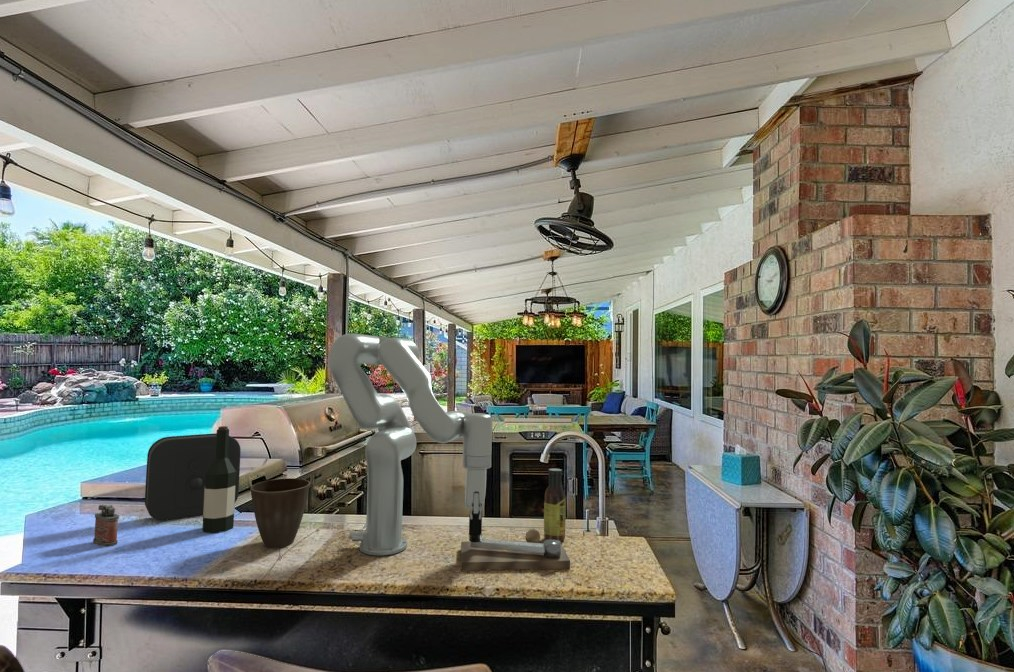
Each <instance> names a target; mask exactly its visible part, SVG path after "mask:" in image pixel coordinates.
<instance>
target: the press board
mask: <svg viewBox="0 0 1014 672" xmlns="http://www.w3.org/2000/svg"><path fill="white" fill-rule="evenodd" d="M514 541H515V542H528V543H541V544H544V541H545V540H541V534H540V532H539V531H538V530H537V529H535V528H531V529H528V530H527V532H526V533H525V540H514ZM460 542H461V543H460V571H461V572H463V571H466V572H467V571H470V570H474V571H488V570H487V569H532V570H571V559H570V558H569V556H568V554H567V552H566V551H565V549H564V547H563V545H562V544H561V556H560V557H557V558H549V557H546V556H544V555H543V553H534V552H522V551H510V550H497V549H485V548H472V547H470V543H471V541H460Z"/></svg>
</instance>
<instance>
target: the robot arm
mask: <svg viewBox="0 0 1014 672" xmlns="http://www.w3.org/2000/svg"><path fill="white" fill-rule="evenodd" d="M419 358H420V350H419V347H418V345H416V343H415V342H414V341H412V340H410V339H407V338H402V337H386V336H378V335H372V334H370V335H369V334H362V333H345V334H341V336H339V337H338V338H336V339H335V340H334V341H333V342H332V343H331V346H330V349H329V352H328V357H327V361H328V363H327V364H328V369H329V372H330V374H331V376H332V378H333V380H334V382H335V383H336V385H337V388H338V389H339V391H340V393H341V395H342V397H343V399H344V402H345V404H346V405H347V408H348V409H349V412H350V414H351V416H352V417H353V420H354V421H355V424H356V425H357V426H358V427H359V428H360V429H362V430H366V431H367V430H368V431H371V430H375V429H377V430H378V432H376V433H374V434H373V435H372V436H371V437H369V439H368V441H367V442H366V445H365V460H366V461H365V462H366V463H365V464H366V470H367V471H366V472H367V483H366V484H367V488H366V489H367V494H366V520H365V521H366V522H365V526H366V527H365V530H362V531H350V532H349V540H351V542H359V551H360V552H362V553H363V554H366V555H369V556H380V557H381V556H390V555H395V554H398V553H400V552H402V551H405V549H406V548H407V547H408V540H407V539H406V538H405V537H402V536H403V534H402V533H403V506H404V505H403V503H404V502H403V501H404V474H403V468H402V463H401V461H402V460H405V459H407V458H409V457H410V456H412V455H413V453H414V452H415V451H416V448H417V438H416V434H415V431H414V430H413V428H412V426H411V424H410V421H409V419H408V418H407V416H406V414H405V412H404V410H403V407H402V406H401V405H400V403H399V401H398V400H397V399H395V397H393V396H392V395H390V394H385V393H378V391H377V390H376V389H375V387H374V385H373V382H372V381H371V378H370V377H369V376H368V375H367V374H366V372H365V371H364V370H363V368H362V367H361V364H362V365H364V364H365V365H367V364H368V365H378V366H383V367H384V368H385V370H386V371H387V372H388V374H389V375H390V376H391V378H393V380H394V381H395V383H396V384H397V385H398V386H399V387H400V389H401V391H403V393H404V395H405V396H406V400H407V403H408V405H409V408H410V411H411V413H412V415H413V417H414V419H415V420H416V422H417V423H418V424H419V426H420V427H421V428H422V429H423V431H424V432H425V433H426V434H427V436H429V438H430V439H431V440H433V441H434V442H436V443H439V444H446V443H447V444H448V443H450V442H451V441H454V440H458V439H463V442H462V468H463V469H465V488H464V489H465V490H464V491H465V492H464V503H465V504H464V507H465V508H466V509H468V508H470V509H469V510H471V513H470V512H469V515H468V516H469V518H468V519H469V522H468V536H469V535H481V532H483V531H482V530H483V529H482V528H483V518H482V519H481V510H482V509H483V508H484V507H485V499H486V489H487V470H488V469H490V468H492V454H493V453H492V450H493V449H492V448H493V447H492V442H493V417H492V416H491V415H490V414H487V413H482V412H481V413H480V412H475V413H472V412H471V413H470V412H469V413H468V412H464V411H459V410H458V411H457V410H450V411H445V409H444V408H443V406H441V404H440V403H439V401H438V400H437V398H436V397H435V395H434V393H433V390H432V382H433V377H432V375H431V373H430V372H429V371H428V370H427V368H426V367H425V366H424V365H423V364H422V362H421V361H420V359H419ZM473 510H474V511H473ZM478 510H479V511H478ZM472 515H473V517H472Z"/></svg>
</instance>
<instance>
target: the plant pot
mask: <svg viewBox="0 0 1014 672" xmlns="http://www.w3.org/2000/svg"><path fill="white" fill-rule="evenodd" d="M310 486H311V482H310V481H309V480H307V479H303V478H294V477H292V478H291V477H290V478H289V477H286V478H275V479H268V480H264V481H260V482H256V483H254V484H253V485H252V486H250V495H251V502H252V509H253V513H254V518H255V522H256V526H257V529H258V532H259V534H260V535H259V536H260V538H261V541H262V543H263V545H264V548H265V547H266V548H268V549H279V548H280V549H281V548H285V547H288V546H291V545H292V544H293V543H294V541H295V538H296V537H297V534H298V531H299V530H300V526H301V524H302V520H303V516H304V513H305V510H306V506H307V501H308V496H309V493H310V492H309V491H310Z"/></svg>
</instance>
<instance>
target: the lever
mask: <svg viewBox="0 0 1014 672" xmlns="http://www.w3.org/2000/svg"><path fill="white" fill-rule="evenodd" d="M469 510H470V511H469V514H470V513H471V509H469ZM473 511H474V510H473ZM478 511H479V510H478ZM472 517H473V515H472ZM481 519H482V520H483V510H482V509H481ZM482 532H483V531H482ZM482 532H481V535H469V534H468V537H469V539H468V540H469V541H468V542H471V543H470V547H472V548H485V549H497V550H510V551H522V552H534V553H543V555H544V556H546V557H549V558H557V557H560V556H561V545H562V541H558V540H553V539H549V540H546V539H545V540H543V541H544V544H541V543H528V542H515V541H516V540H499V539H498V540H497V539H485V538H482V536H483V535H482Z"/></svg>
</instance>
